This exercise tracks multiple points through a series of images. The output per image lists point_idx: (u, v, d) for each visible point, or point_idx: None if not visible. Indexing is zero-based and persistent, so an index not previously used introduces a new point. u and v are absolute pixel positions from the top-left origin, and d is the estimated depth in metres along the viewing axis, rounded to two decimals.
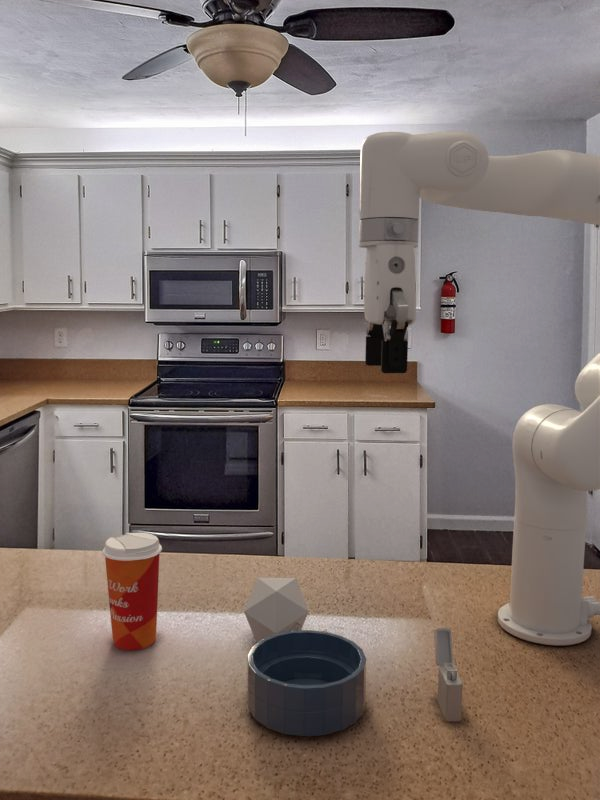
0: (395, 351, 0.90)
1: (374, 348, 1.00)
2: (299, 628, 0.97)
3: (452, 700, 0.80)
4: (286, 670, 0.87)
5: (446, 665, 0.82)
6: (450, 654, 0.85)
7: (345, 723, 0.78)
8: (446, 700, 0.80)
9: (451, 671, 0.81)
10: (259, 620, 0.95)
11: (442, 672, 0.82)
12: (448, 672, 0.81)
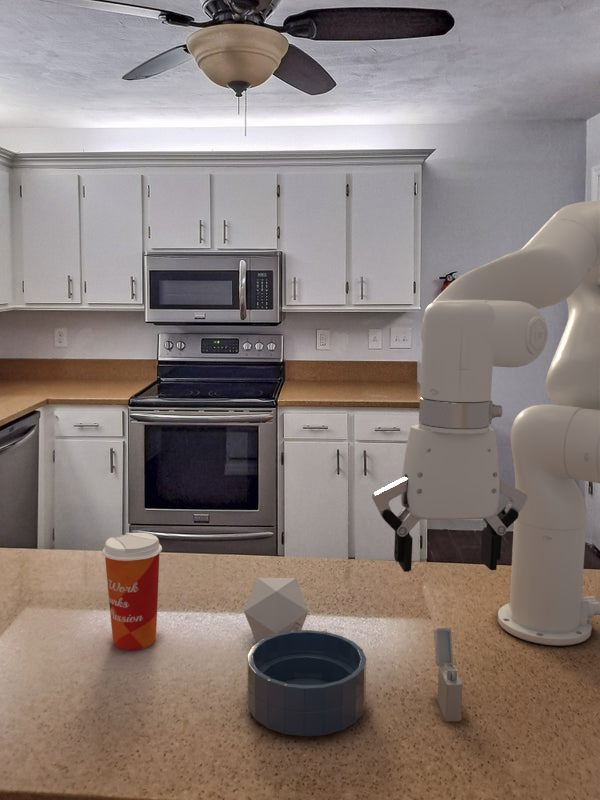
0: None
1: None
2: (299, 628, 0.97)
3: (452, 700, 0.80)
4: (286, 670, 0.87)
5: (446, 665, 0.82)
6: (450, 654, 0.85)
7: (345, 723, 0.78)
8: (446, 700, 0.80)
9: (451, 671, 0.81)
10: (259, 620, 0.95)
11: (442, 672, 0.82)
12: (448, 672, 0.81)
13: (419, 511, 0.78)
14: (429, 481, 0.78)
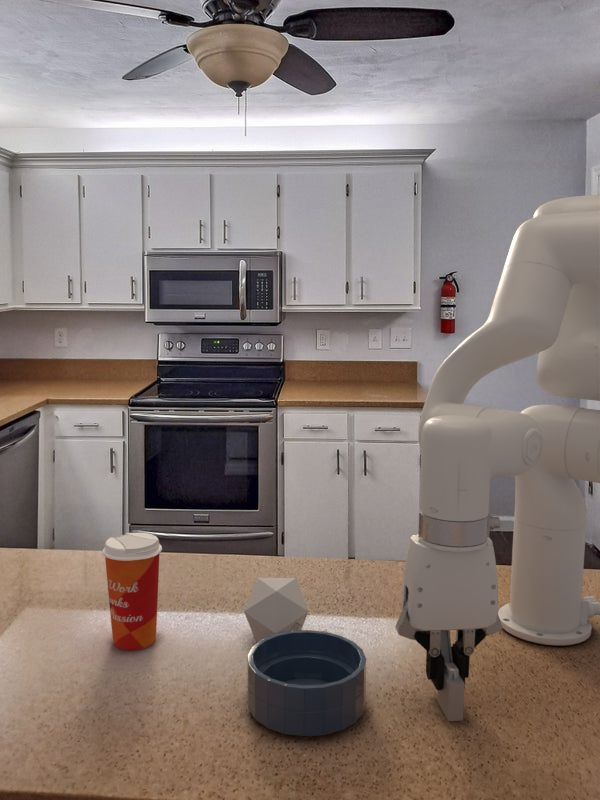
0: None
1: None
2: (299, 628, 0.97)
3: (454, 700, 0.80)
4: (286, 670, 0.87)
5: (447, 665, 0.82)
6: (449, 654, 0.85)
7: (345, 723, 0.78)
8: (448, 700, 0.80)
9: (452, 671, 0.81)
10: (259, 620, 0.95)
11: None
12: (450, 672, 0.81)
13: (419, 624, 0.80)
14: (429, 595, 0.79)
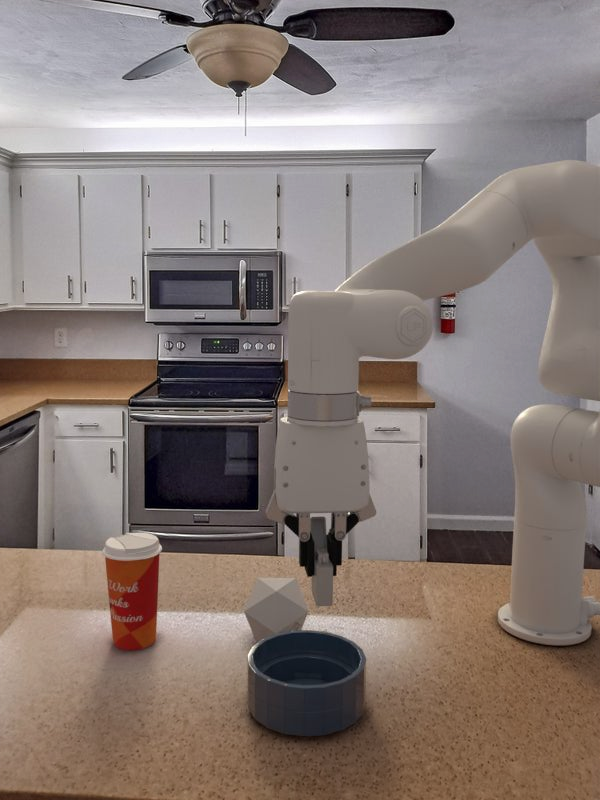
0: None
1: None
2: (299, 628, 0.97)
3: (323, 584, 0.77)
4: (286, 670, 0.87)
5: (318, 551, 0.79)
6: (324, 542, 0.82)
7: (345, 723, 0.78)
8: (317, 584, 0.78)
9: (322, 555, 0.78)
10: (259, 620, 0.95)
11: (314, 559, 0.80)
12: (319, 556, 0.78)
13: (286, 505, 0.77)
14: (295, 474, 0.77)
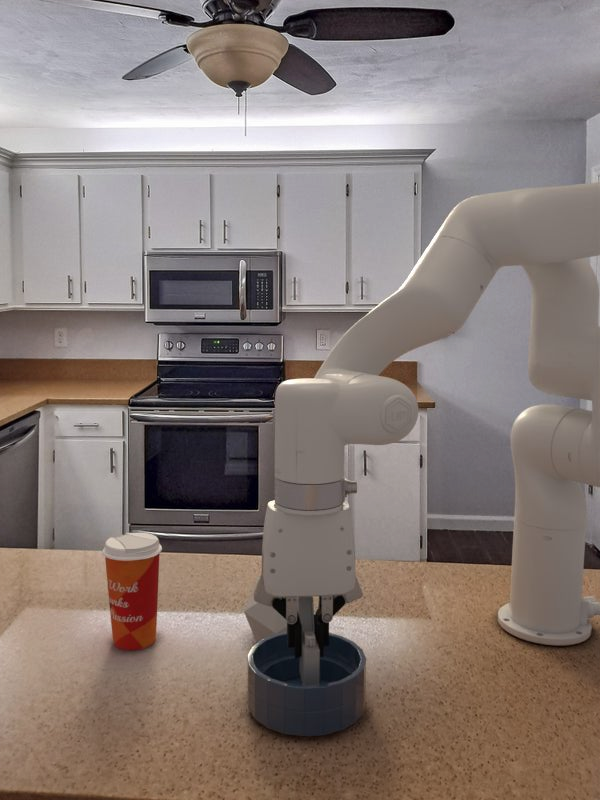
0: None
1: None
2: None
3: (309, 667, 0.79)
4: (286, 670, 0.87)
5: (305, 632, 0.81)
6: (312, 622, 0.83)
7: (345, 723, 0.78)
8: (303, 667, 0.79)
9: (309, 638, 0.80)
10: (259, 620, 0.95)
11: None
12: (306, 639, 0.80)
13: (273, 590, 0.79)
14: (282, 561, 0.78)
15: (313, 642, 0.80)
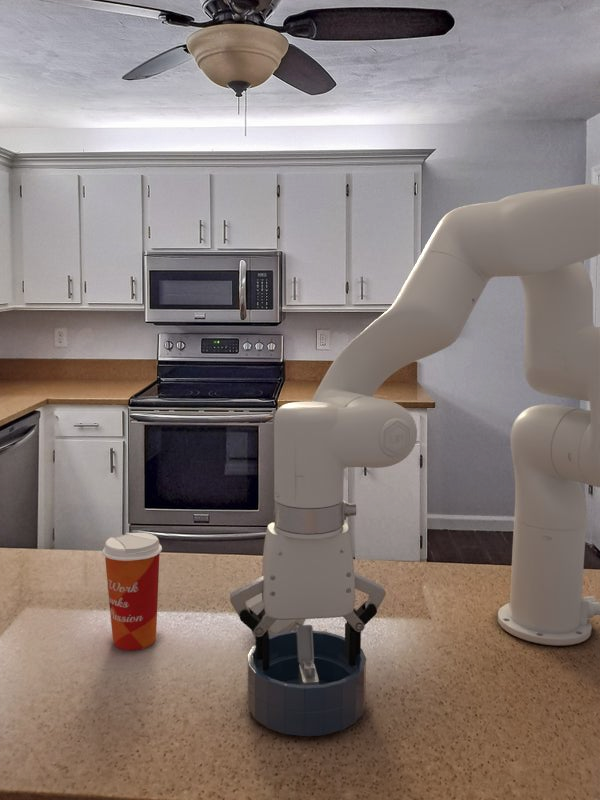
0: None
1: None
2: None
3: None
4: (286, 670, 0.87)
5: (305, 662, 0.81)
6: (311, 651, 0.84)
7: (345, 723, 0.78)
8: None
9: (308, 669, 0.80)
10: None
11: (300, 670, 0.81)
12: (305, 669, 0.80)
13: (274, 613, 0.79)
14: (282, 584, 0.78)
15: (312, 672, 0.80)
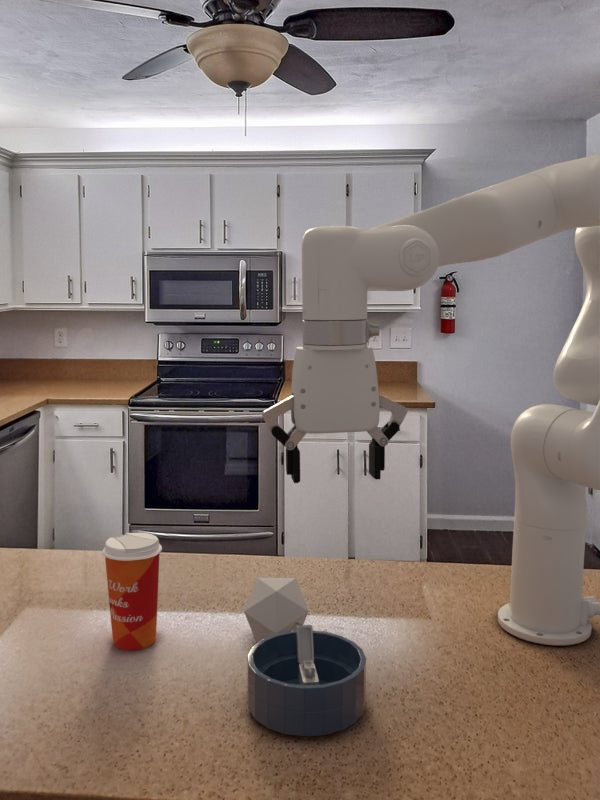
0: None
1: None
2: None
3: None
4: (286, 670, 0.87)
5: (305, 662, 0.81)
6: (311, 651, 0.84)
7: (345, 723, 0.78)
8: None
9: (308, 669, 0.80)
10: (259, 620, 0.95)
11: (300, 670, 0.81)
12: (305, 669, 0.80)
13: (304, 425, 0.84)
14: (311, 396, 0.84)
15: (312, 672, 0.80)
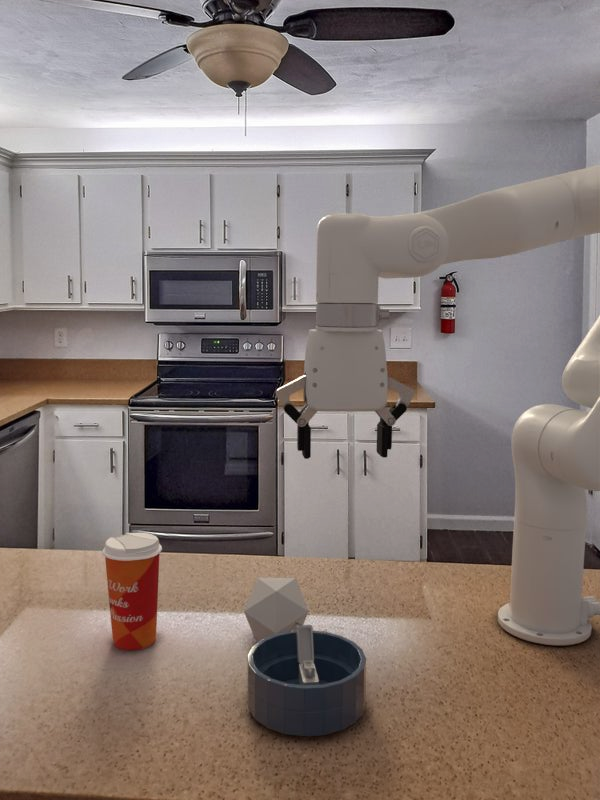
0: None
1: None
2: None
3: None
4: (286, 670, 0.87)
5: (305, 662, 0.81)
6: (311, 651, 0.84)
7: (345, 723, 0.78)
8: None
9: (308, 669, 0.80)
10: (259, 620, 0.95)
11: (300, 670, 0.81)
12: (305, 669, 0.80)
13: (315, 403, 0.88)
14: (323, 376, 0.88)
15: (312, 672, 0.80)
